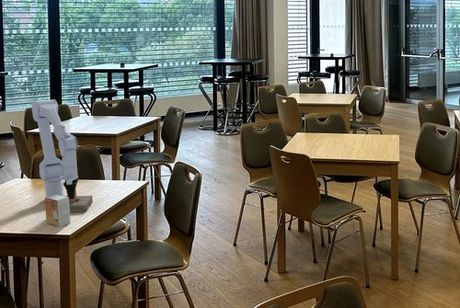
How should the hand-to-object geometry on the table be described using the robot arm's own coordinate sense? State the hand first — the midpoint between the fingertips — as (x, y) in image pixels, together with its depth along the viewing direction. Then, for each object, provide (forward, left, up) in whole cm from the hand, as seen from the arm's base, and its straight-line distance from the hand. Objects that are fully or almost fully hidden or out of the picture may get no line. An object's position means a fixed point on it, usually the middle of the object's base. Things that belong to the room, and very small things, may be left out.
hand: (72, 197), depth 272 cm
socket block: (0, 0, -4) cm, 4 cm away
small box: (+23, -1, -5) cm, 24 cm away
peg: (0, 0, -3) cm, 3 cm away
